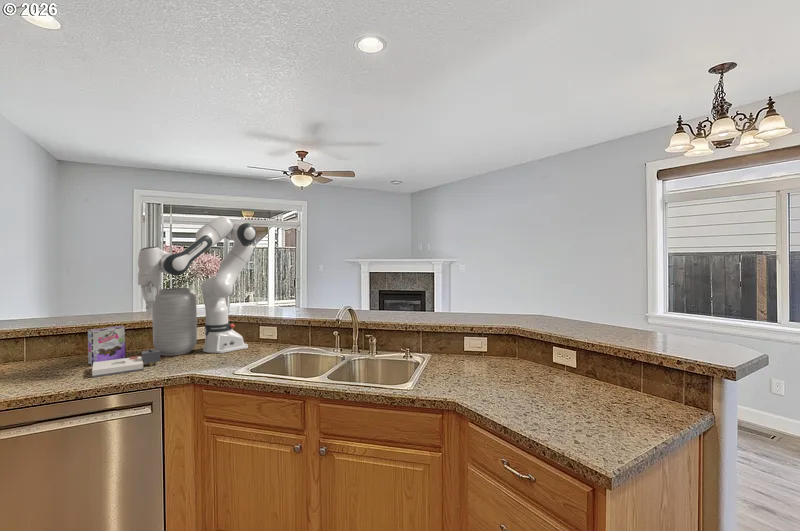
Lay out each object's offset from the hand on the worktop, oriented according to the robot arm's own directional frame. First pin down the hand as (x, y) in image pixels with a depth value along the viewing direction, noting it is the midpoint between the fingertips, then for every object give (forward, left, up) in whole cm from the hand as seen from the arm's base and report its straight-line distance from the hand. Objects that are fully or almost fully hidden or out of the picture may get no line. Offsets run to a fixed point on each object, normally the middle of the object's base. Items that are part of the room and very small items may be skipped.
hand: (148, 310), depth 187 cm
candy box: (+16, -16, -26) cm, 34 cm away
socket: (+12, +3, -25) cm, 28 cm away
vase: (-13, -17, -26) cm, 33 cm away
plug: (0, +3, -25) cm, 25 cm away
